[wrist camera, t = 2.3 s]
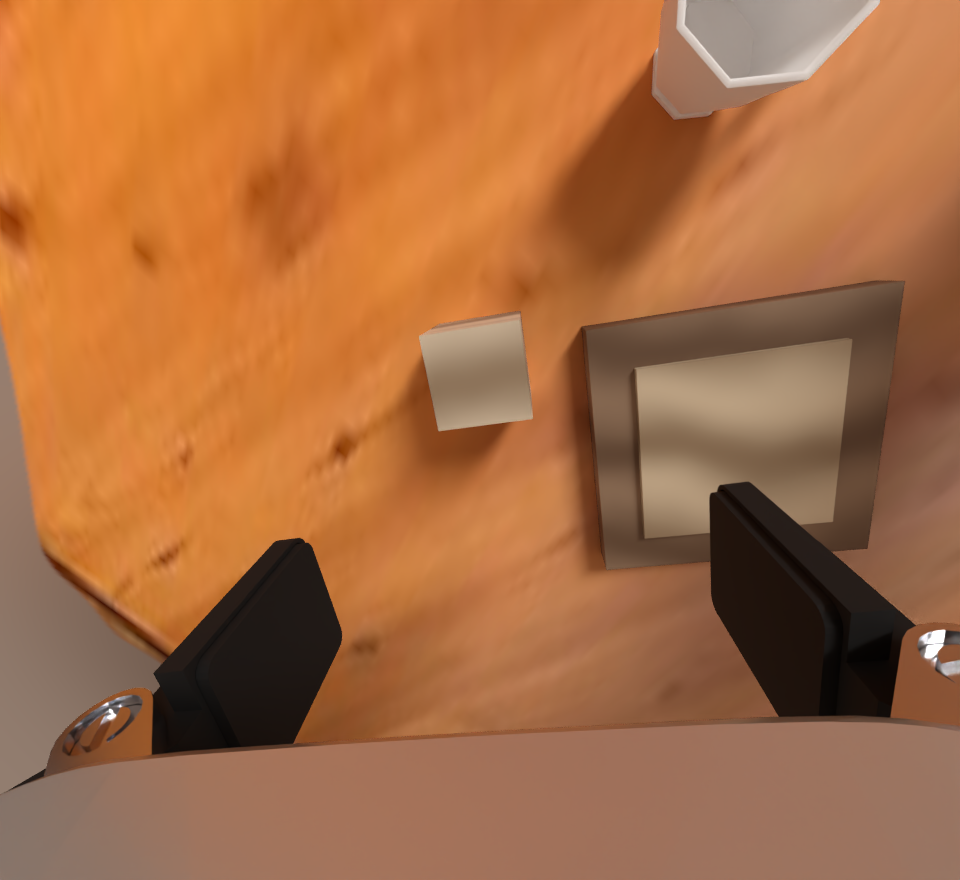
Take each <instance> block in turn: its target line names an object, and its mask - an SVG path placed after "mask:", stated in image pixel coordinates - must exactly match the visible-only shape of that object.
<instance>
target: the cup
mask: <svg viewBox="0 0 960 880" xmlns="http://www.w3.org/2000/svg"><path fill="white" fill-rule="evenodd" d="M879 3H880V0H664V4H663V7H662V11H661V20H660V32H659V45H658V48H657V49H656V51H655V52H654V57H653V76H652V96H653V97H654V98H655V99H656V100H657V101H658V102H659V104H660V105H661V106H662V107H663V108H664V109H665V110H666V111H667V113H668V114H669V115H670V116H671V117H672V118H673V119H674V120H676V119H686V118H696V117H706V116H709V115H710V114H711V113H712V112H713V111H715V110H722V109H728V108H734V107H740V106H743V105H746V104H748V103H750V102H753V101H755V100H758V99H760V98H762V97H765V96H767V95H769V94H772V93H775V92H778V91H780V90H783V89H786V88H788V87H791V86H793V85H796V84H798V83H801V82H803V81H806V80H808V79H809V78H810V77H811V76H812V75H813V73H814V72H815V71H816V70H817V69H818V68H819V67H820V66H821V65H822V64H823V63H824V62H825V61H826V60H827V59H828V58H829V57H830V55H831V54H832V53H833V52H834V51H835V50H836V49H837V48H838V47H839V46H840V45H841V44H842V43H843V42H844V41H845V40H846V39H847V37H848V36H849V35H850V34H851V33H852V32H853V31H854V30H855V29H856V28H857V27H858V26H859V25H860V24H861V23H862V22H863V21H864V19H865V18H866V17H867V16H868V15H869V14H870V13H871V12H872V11H873V10H874V9H875V8H876V7H877V6H878V5H879Z"/></svg>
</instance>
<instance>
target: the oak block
mask: <svg viewBox="0 0 960 880" xmlns="http://www.w3.org/2000/svg"><path fill="white" fill-rule="evenodd" d="M419 339H420V344H421V349H422V354H423V359H424V363H425V368H426V373H427V378H428V383H429V388H430V392H431V397H432V402H433V407H434V412H435V417H436V421H437V426H438V431H444V430H452V429H460V428H467V427H475V426H483V425H490V424H498V423H506V422H513V421H521V420H528V419H533V414H532V400H531V389H530V381H529V373H528V366H527V358H526V350H525V343H524V335H523V328H522V320H521V312H520V311H515V312H509V313H503V314H497V315H491V316H485V317H479V318H473V319H467V320H461V321H455V322H448V323H442V324H439V325H437V326H435V327H434V328H432V329H430V330H429V331H427V332H425V333H424V334H422V335H420V336H419Z"/></svg>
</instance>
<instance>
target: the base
mask: <svg viewBox="0 0 960 880" xmlns="http://www.w3.org/2000/svg"><path fill="white" fill-rule="evenodd" d="M904 284H905V281H871V282H864V283H858V284H851V285H845V286H839V287H832V288H826V289H819V290H813V291H807V292H800V293H794V294H788V295H781V296H775V297H768V298H762V299H756V300H749V301H743V302H736V303H730V304H724V305H717V306H711V307H705V308H698V309H692V310H685V311H679V312H673V313H666V314H660V315H653V316H647V317H641V318H634V319H628V320H622V321H615V322H609V323H602V324H596V325H590V326H583V327H582V337H583V349H584V360H585V371H586V383H587V394H588V405H589V417H590V428H591V439H592V451H593V462H594V473H595V485H596V496H597V507H598V519H599V530H600V541H601V553H602V556H603V560H604V563H605V567H606V570H611V569H623V568H635V567H648V566H660V565H672V564H684V563H697V562H709V561H711V559H710V513H709V497H710V494H711V493H712V492H717V489H718V487H719V485H723V484H731V483H739V482H748V481H749V482H750V483H752V484H753V485H754V486H755V487H756V488H758V489H759V490H760V491H761V492H762V493H763V494H765V495H766V496H767V497H768V498H769V499H770V500H771V501H773V502H774V503H775V504H776V505H777V506H778V507H779V508H781V509H782V510H783V511H784V512H785V513H786V514H787V515H789V516H790V517H791V518H792V519H793V520H794V521H795V522H797V523H798V524H799V525H800V526H801V527H802V528H803V529H805V530H806V531H807V532H808V533H809V534H810V535H811V536H813V537H814V538H815V539H816V540H818V541H819V542H820V543H822V544H823V545H824V546H825V547H826V548H827V549H828V550H830V551H844V550H856V549H867V548H868V541H869V534H870V527H871V520H872V512H873V505H874V498H875V491H876V484H877V477H878V470H879V462H880V455H881V448H882V441H883V434H884V427H885V419H886V412H887V405H888V398H889V391H890V384H891V377H892V369H893V362H894V355H895V348H896V341H897V334H898V326H899V319H900V312H901V305H902V298H903V291H904Z"/></svg>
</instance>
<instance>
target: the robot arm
mask: <svg viewBox="0 0 960 880" xmlns="http://www.w3.org/2000/svg"><path fill="white" fill-rule="evenodd" d="M709 513H710V559H711V596H712V601H713V605H714V608H715V610H716V612H717V614H718V615H719V617H720V619H721V621H722V622H723V624H724V626H725V627H726V629H727V631H728V632H729V634H730V636H731V637H732V639H733V641H734V642H735V644H736V646H737V647H738V649H739V651H740V652H741V654H742V656H743V657H744V659H745V661H746V662H747V664H748V666H749V667H750V669H751V671H752V672H753V674H754V676H755V677H756V679H757V681H758V682H759V684H760V686H761V687H762V689H763V691H764V692H765V694H766V696H767V698H768V699H769V701H770V703H771V704H772V706H773V708H774V709H775V711H776V713H777V714H778V716H779V717H755V718H737V719H716V720H689V721H671V722H652V723H633V724H614V725H596V726H577V727H558V728H539V729H522V730H505V731H488V732H471V733H454V734H437V735H421V736H405V737H388V738H372V739H356V740H341V741H326V742H311V743H296V744H293V743H294V741H295V739H296V736H297V734H298V732H299V730H300V728H301V726H302V724H303V722H304V720H305V718H306V716H307V714H308V712H309V710H310V707H311V705H312V703H313V701H314V699H315V697H316V695H317V693H318V691H319V689H320V687H321V685H322V683H323V681H324V678H325V676H326V674H327V672H328V670H329V668H330V666H331V664H332V662H333V660H334V658H335V656H336V654H337V652H338V649H339V647H340V645H341V641H342V631H341V627H340V624H339V621H338V619H337V616H336V613H335V610H334V607H333V605H332V602H331V599H330V596H329V593H328V590H327V588H326V585H325V582H324V579H323V576H322V573H321V571H320V568H319V565H318V562H317V559H316V557H315V554H314V551H313V548H312V546H311V545H310V544H309V543H305V541H304V540H303V539H301V538H295V539H287V540H279V541H276V542H274V543H273V544H272V545H271V546H270V547H269V549H268V550H267V551H266V552H265V553H264V554H263V555H262V556H261V557H260V558H259V559H258V561H257V562H256V563H255V564H254V565H253V566H252V567H251V568H250V569H249V570H248V571H247V572H246V574H245V575H244V576H243V577H242V578H241V579H240V580H239V581H238V582H237V583H236V584H235V585H234V587H233V588H232V589H231V590H230V591H229V592H228V593H227V594H226V595H225V596H224V597H223V598H222V600H221V601H220V602H219V603H218V604H217V605H216V606H215V607H214V608H213V609H212V610H211V611H210V613H209V614H208V615H207V616H206V617H205V618H204V619H203V620H202V621H201V622H200V623H199V624H198V626H197V627H196V628H195V629H194V630H193V631H192V632H191V633H190V634H189V635H188V636H187V637H186V639H185V640H184V641H183V642H182V643H181V644H180V645H179V646H178V647H177V648H176V649H175V650H174V652H173V653H172V654H171V655H170V656H169V657H168V658H167V659H166V660H165V661H164V662H163V663H162V665H161V666H160V667H159V668H158V669H157V670H156V671H155V672H154V675H155V677H156V679H157V681H158V682H159V684H160V687H159V689H158V690H157V691H156V692H155V693H154V694H152V692H151V691H149V690H148V689H146V688H132V689H128V690H124V691H121V692H119V693H117V694H114V695H112V696H110V697H108V698H106V699H104V700H103V701H101V702H99V703H97V704H96V705H94V706H92V707H91V708H90V709H89V710H87V711H86V712H84V713H83V714H81V715H80V716H79V717H78V718H77V719H75V720H74V721H73V722H72V723H71V724H70V725H69V726H68V727H67V728H66V729H65V730H64V731H63V732H62V734H61V735H60V736H59V737H58V739H57V740H56V741H55V744H54V746H53V748H52V750H51V752H50V756H49V759H48V763H47V767H46V769H44V770H42V771H41V772H39V773H37V774H36V775H34V776H32V777H30V778H29V779H27V780H25V781H24V782H22V783H20V784H18V785H17V786H15V787H13V788H12V789H10V790H8V791H6V792H4V793H2V794H0V880H960V625H958V624H952V623H935V622H933V623H927V624H920V625H917V626H916V625H915V624H914V623H912V622H911V621H910V620H909V619H908V618H907V617H906V616H904V615H903V614H902V613H901V612H900V611H899V610H897V609H896V608H895V607H894V606H893V605H892V604H891V603H889V602H888V601H887V600H886V599H885V598H884V597H883V596H881V595H880V594H879V593H878V592H877V591H876V590H874V589H873V588H872V587H871V586H870V585H869V584H868V583H866V582H865V581H864V580H863V579H862V578H861V577H860V576H858V575H857V574H856V573H855V572H854V571H853V570H851V569H850V568H849V567H848V566H847V565H846V564H845V563H843V562H842V561H841V560H840V559H839V558H838V557H837V556H835V555H834V554H833V553H832V552H831V551H830V550H828V549H827V548H826V547H825V546H824V545H823V544H822V543H820V542H819V541H818V540H816V539H815V538H814V537H813V536H811V535H810V534H809V533H808V532H807V531H806V530H805V529H803V528H802V527H801V526H800V525H799V524H798V523H797V522H795V521H794V520H793V519H792V518H791V517H790V516H789V515H787V514H786V513H785V512H784V511H783V510H782V509H781V508H779V507H778V506H777V505H776V504H775V503H774V502H773V501H771V500H770V499H769V498H768V497H767V496H766V495H765V494H763V493H762V492H761V491H760V490H759V489H758V488H756V487H755V486H754V485H753V484H752V483H750V482H749V481H748V482H739V483H731V484H723V485H719V487H718V489H717V492H712V493H711V494H710V497H709Z"/></svg>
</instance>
